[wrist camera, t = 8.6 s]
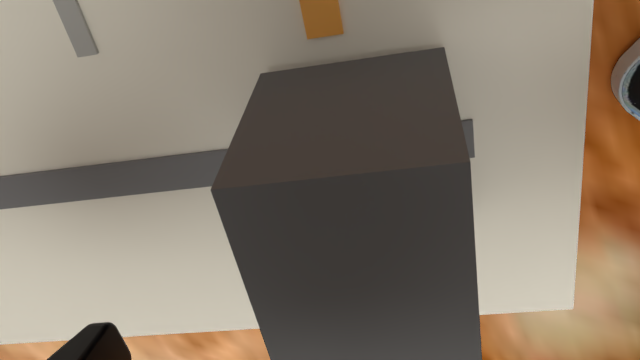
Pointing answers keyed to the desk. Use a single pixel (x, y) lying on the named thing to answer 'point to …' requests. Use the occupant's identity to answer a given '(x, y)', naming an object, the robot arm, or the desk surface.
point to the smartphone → (628, 80)
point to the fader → (355, 211)
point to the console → (217, 133)
